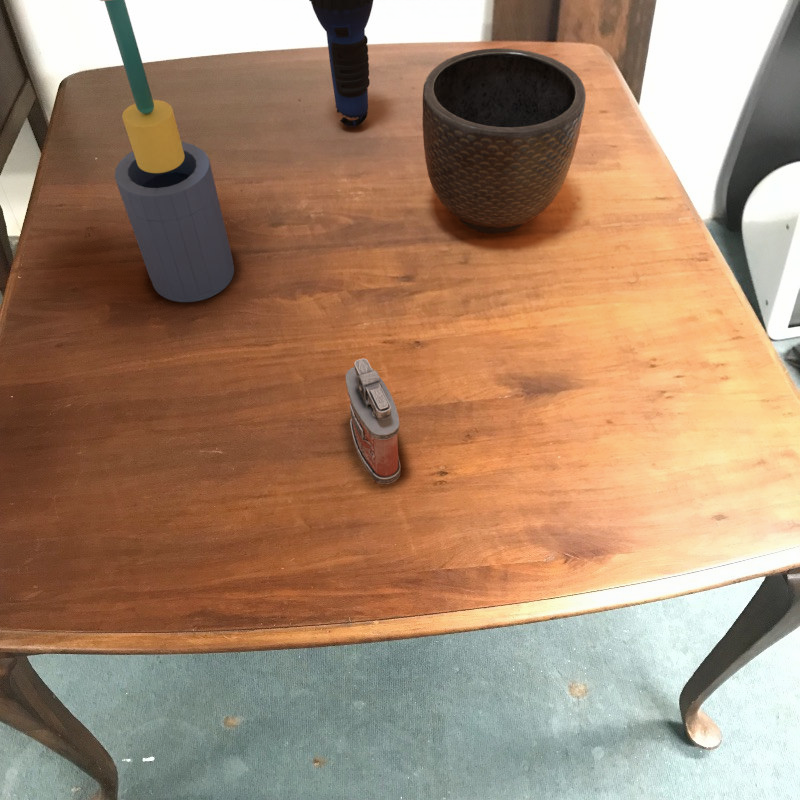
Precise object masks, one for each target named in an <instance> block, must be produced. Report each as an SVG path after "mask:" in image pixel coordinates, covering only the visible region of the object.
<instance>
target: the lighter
mask: <svg viewBox="0 0 800 800" xmlns="http://www.w3.org/2000/svg"><path fill="white" fill-rule="evenodd" d="M353 365H354V366H353V367H350V368H349V369H348V370H347V371H346V373H345V384H346V390H347V394H348V395H347V396H348V398H349V403H350V405H349V409H350V410H349V411H350V417H351V418H350V431H351V436H352V442H353V444H354V447H355V451H356V453H357V456H358V457H359V459H360V461H361V462H362V465H363V466H364V468H365V469H366V471H367V473H368V474H369V475H370V476H371V478H372V479H373V480H374V482H376V483H378V484H381V485H389V484H392V483H394V482H396V481H397V480H398V479H399V478H400V476H401V473H402V472H401V470H402V469H401V462H400V458H399V447H398V445H399V444H398V442H399V440H398V433H399V431H400V417H399V414H398V410H397V406H396V404H395V400H394V399H393V396H392V394H391V391H390V390H389V388H388V386H387V385H386V383H385V382H384V380H383V379H382V378H381V377H380V374H379V373H378V371H377V370H374V368H372V366H371V364H370V362H369V361H368V359H366V358H359V359H357V360H355V361H354V364H353Z"/></svg>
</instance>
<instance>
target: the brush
mask: <svg viewBox="0 0 800 800" xmlns="http://www.w3.org/2000/svg"><path fill="white" fill-rule="evenodd" d="M104 5H105V7H106V12H107V14H108V17H109V21H110V24H111V25H110V26H111V27H112V31H113V34H114V37H115V41H116V44H117V48H118V51H119V55H120V57H121V61H122V64H123V67H124V70H125V74H126V77H127V80H128V84H129V87H130V91H131V93H132V97H133V100H134V103H132V104H131V105H129V106H128V107H126V108H125V110H124V111H123V113H122V121H123V125H124V128H125V130H126V133H127V134H126V135H127V138H128V139H129V142H130V146H131V149H132V151H133V152H134V155H135V158H136V162H137V165H138V167H139V168H140V169H142V170H143V171H145V172H149V173H163V172H168V171H171V170H173V169H175V168H177V167H178V166H180V165H181V164H182V162H183V161H184V158H185V155H184V151H183V147H182V144H181V142H182V140H181V137H180V132H179V129H178V125H177V121H176V117H175V114H174V109H173V107H172V106H171V104H169V103H168V102H166V101H163V100H159V99H153V96H152V92H151V89H150V85H149V81H148V77H147V73H146V72H145V67H144V64H143V61H142V57H141V53H140V49H139V47H138V42H137V39H136V36H135V32H134V28H133V24H132V22H131V18H130V15H129V11H128V7H127V4H126V1H125V0H108V1H104Z"/></svg>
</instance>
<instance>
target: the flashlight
mask: <svg viewBox="0 0 800 800" xmlns="http://www.w3.org/2000/svg"><path fill="white" fill-rule="evenodd" d="M309 2H310V3H311V6H312V9H313V12H314V14H315V16H316V18H317V20H318V23H319V24H320V26H321V28H323V29H324V31H325V32H326V40H327V41H326V42H327V49H328V57H329V66H330V75H331V80H332V89H333V94H334V102H335V109H336V113H339V114H341V115H342V116H343V117H341V119H340V120H339V122H341V123H342V125H344V126H347V127H351V128H353V127H358V126H360V125H362V124H363V123H364V122H365V121H366V119H367V117H368V113H369V112H368V110H369V91H368V90H369V89H368V88H369V87H370V85H371V83H370V78H369V77H370V63H369V60H370V59H369V57H370V56H369V46H368V40H369V39H368V37H367V35H366V31H365V30H366V27H367V26H368V23H369V19H370V17H371V15H372V14H371V13H372V9H373V7H374V6H373V5H374V0H309ZM349 118H350V119H349ZM352 119H353V120H352Z"/></svg>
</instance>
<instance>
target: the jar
mask: <svg viewBox="0 0 800 800" xmlns="http://www.w3.org/2000/svg"><path fill="white" fill-rule="evenodd" d="M181 144H182V147H183V151H184V155H185V158H184V161H183V162H182V164H181V165H180V166H178V167H177V168H175V169H173V170H171V171H168V172H163V173H149V172H145V171H143V170H142V169H140V168H139V167H138V165H137V162H136V158H135V155H134V152H133V150H132V151H130V152H129V153H128V154H126V155H125V156H124V157H123V158H121V160H120V161H119V162H118V164H117V165H116V167H115V170H114V180H115V183H116V186H117V189H118V192H119V194H120V197H121V200H122V203H123V205H124V208H125V212H126V214H127V217H128V221H129V223H130V226H131V228H132V231H133V235H134V238H135V239H136V242H137V246H138V248H139V251H140V253H141V257H142V259H143V262H144V265H145V268H146V271H147V274H148V276H149V280H150V281H151V284H152V287H153V288H154V289H153V290H155V291H156V293H157V294H158V295H160V296H161V297H163V298H164V299H165V300H169V301H172V302H177V303H195V302H200V301H204V300H207V299H209V298H213V297H214V296H217V295H218V294H219V293H221V292H222V291H224V289H226V288H227V287H228V285H230V284H231V281H232V280H233V277H234V275H235V264H234V261H233V260H234V259H233V254H232V251H231V246H230V242H229V238H228V233H227V230H226V224H225V220H224V216H223V212H222V208H221V204H220V199H219V196H218V190H217V188H216V187H217V186H216V183H215V178H214V174H213V170H212V169H213V168H212V166H211V161H210V158H209V156H208V155H207V153H206V152H205V150H203V149H202V148H200V147H199V146H196V145H195V144H192V143H189V142H185V141H181Z"/></svg>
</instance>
